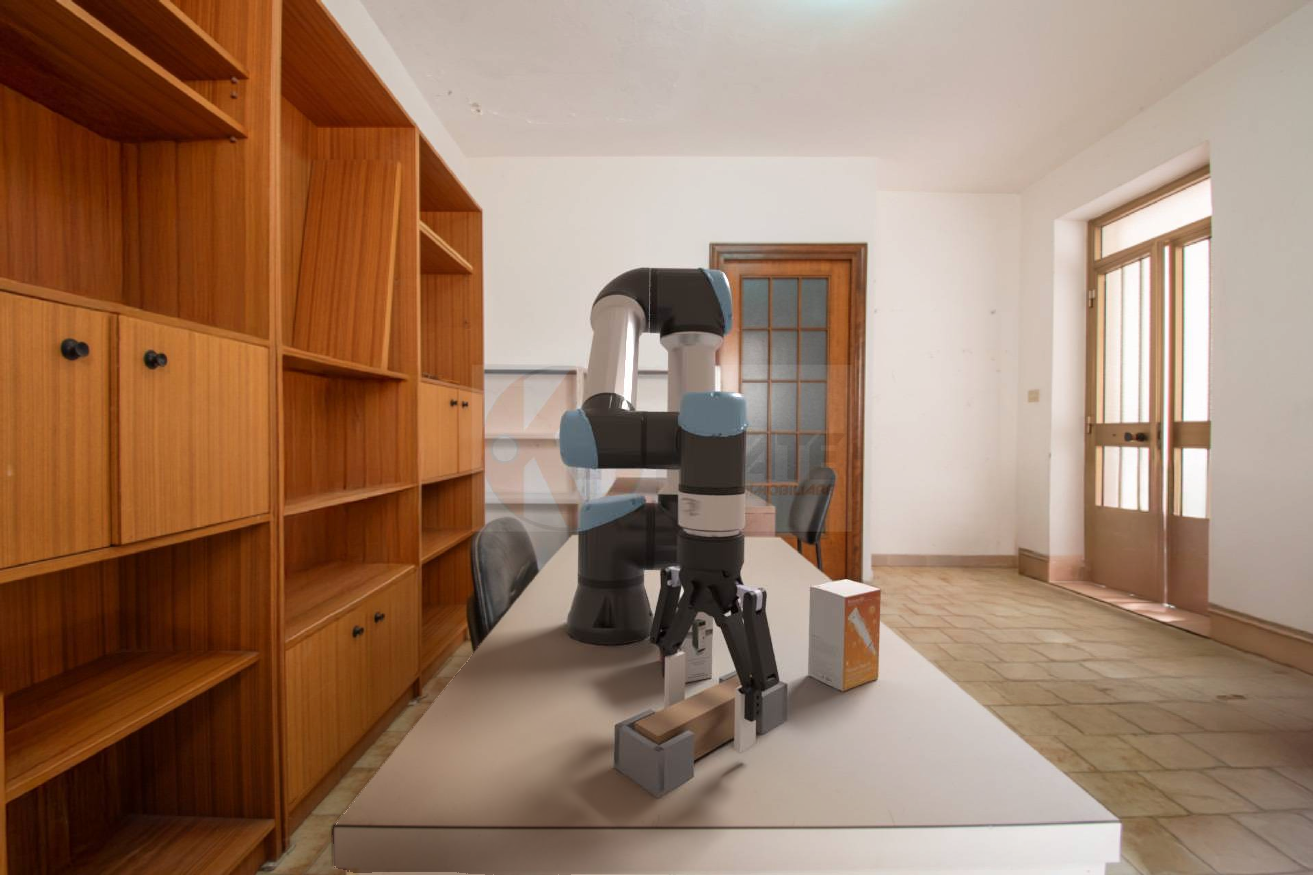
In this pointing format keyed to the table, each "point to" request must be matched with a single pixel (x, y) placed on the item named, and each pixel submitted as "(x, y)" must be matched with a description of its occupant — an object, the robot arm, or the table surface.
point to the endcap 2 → (769, 705)
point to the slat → (696, 718)
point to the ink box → (698, 647)
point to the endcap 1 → (653, 757)
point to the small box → (844, 633)
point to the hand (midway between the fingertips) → (707, 726)
